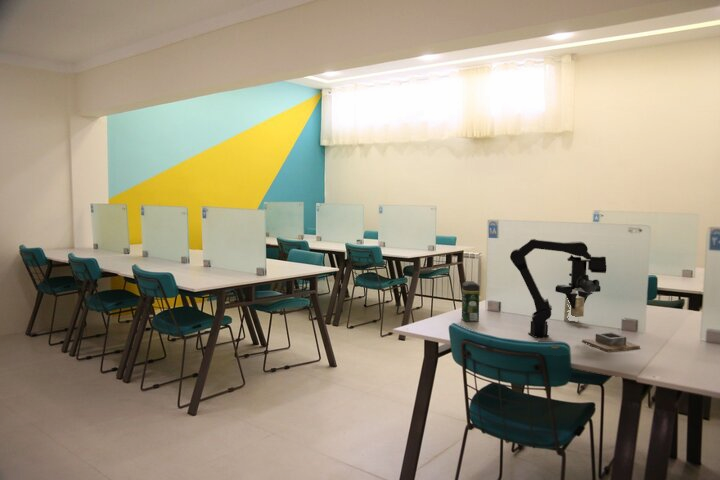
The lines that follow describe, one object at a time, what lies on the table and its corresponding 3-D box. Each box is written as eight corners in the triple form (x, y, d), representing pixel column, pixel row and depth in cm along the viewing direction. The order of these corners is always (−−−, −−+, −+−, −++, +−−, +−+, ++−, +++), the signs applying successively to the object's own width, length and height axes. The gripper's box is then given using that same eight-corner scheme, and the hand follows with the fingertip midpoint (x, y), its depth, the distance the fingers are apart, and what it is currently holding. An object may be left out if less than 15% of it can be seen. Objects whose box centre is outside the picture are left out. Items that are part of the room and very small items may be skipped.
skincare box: (563, 321, 260) (564, 296, 258) (564, 319, 263) (566, 294, 262) (578, 322, 257) (579, 297, 256) (579, 320, 260) (580, 295, 259)
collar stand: (607, 351, 210) (607, 341, 210) (582, 342, 223) (582, 332, 223) (639, 348, 215) (640, 338, 215) (613, 339, 228) (613, 329, 228)
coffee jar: (460, 317, 266) (461, 280, 264) (476, 317, 266) (477, 280, 264) (463, 322, 256) (464, 283, 254) (480, 322, 256) (481, 283, 254)
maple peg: (576, 316, 225) (577, 298, 224) (570, 315, 228) (571, 296, 228) (583, 316, 226) (584, 297, 225) (577, 314, 230) (578, 295, 229)
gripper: (573, 275, 215) (571, 314, 217) (611, 273, 221) (609, 311, 222) (555, 271, 226) (553, 308, 227) (591, 269, 231) (590, 305, 233)
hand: (577, 308), depth 227 cm, fingers closed on maple peg, 4 cm apart
